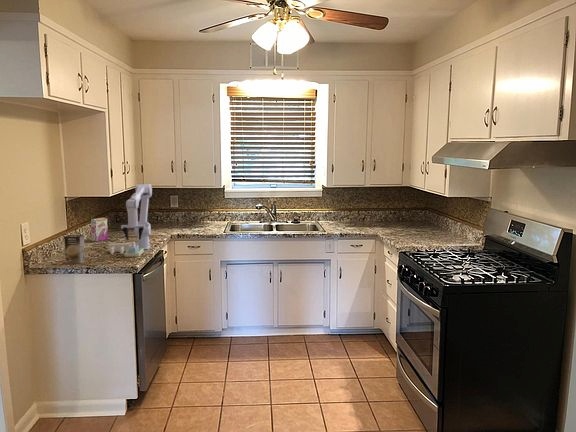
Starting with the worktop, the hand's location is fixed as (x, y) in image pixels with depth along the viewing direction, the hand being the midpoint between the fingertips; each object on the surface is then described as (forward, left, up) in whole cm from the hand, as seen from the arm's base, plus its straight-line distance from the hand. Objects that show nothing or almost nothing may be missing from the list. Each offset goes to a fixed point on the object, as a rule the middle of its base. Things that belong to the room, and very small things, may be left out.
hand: (133, 239), depth 284 cm
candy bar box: (-51, -36, -10) cm, 63 cm away
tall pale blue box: (+1, 0, -9) cm, 9 cm away
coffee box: (+18, -30, -10) cm, 36 cm away
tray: (0, 0, -10) cm, 10 cm away
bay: (-8, -12, -10) cm, 17 cm away
